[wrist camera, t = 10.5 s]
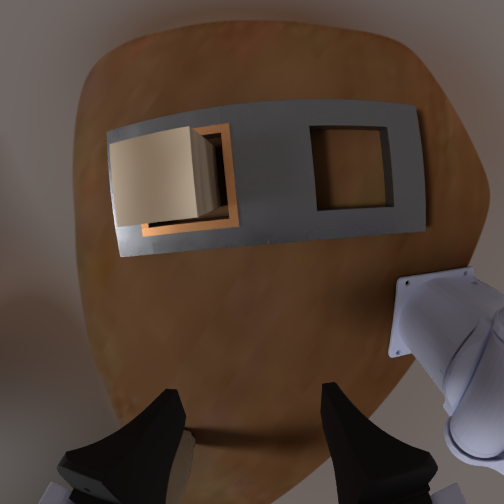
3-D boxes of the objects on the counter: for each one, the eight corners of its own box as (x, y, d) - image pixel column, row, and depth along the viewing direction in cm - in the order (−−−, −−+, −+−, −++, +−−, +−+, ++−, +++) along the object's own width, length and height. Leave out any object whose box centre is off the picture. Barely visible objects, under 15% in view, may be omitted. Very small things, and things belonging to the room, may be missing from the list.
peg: (215, 146, 19) (189, 126, 12) (220, 206, 20) (197, 217, 13) (158, 156, 20) (109, 144, 12) (164, 212, 21) (117, 227, 13)
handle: (161, 441, 27) (127, 535, 12) (165, 413, 26) (123, 522, 11) (198, 453, 27) (175, 550, 13) (207, 426, 26) (181, 541, 11)
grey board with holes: (406, 109, 18) (416, 105, 16) (416, 228, 20) (427, 231, 18) (115, 134, 19) (105, 131, 18) (128, 252, 21) (119, 257, 20)
